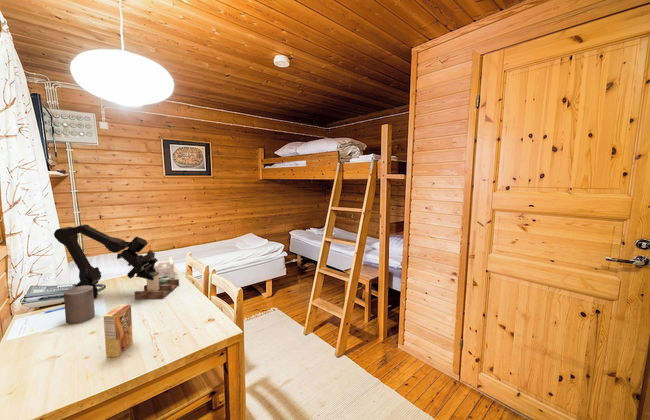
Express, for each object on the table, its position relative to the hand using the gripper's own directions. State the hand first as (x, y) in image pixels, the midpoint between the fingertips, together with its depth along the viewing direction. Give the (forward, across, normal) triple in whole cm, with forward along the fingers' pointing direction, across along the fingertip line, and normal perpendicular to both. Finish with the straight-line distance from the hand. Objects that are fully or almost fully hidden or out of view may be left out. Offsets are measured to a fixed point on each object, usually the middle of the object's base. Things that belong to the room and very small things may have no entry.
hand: (155, 278), depth 144 cm
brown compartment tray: (+6, +4, +8) cm, 11 cm away
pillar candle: (-7, -24, +21) cm, 33 cm away
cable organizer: (0, +28, +14) cm, 32 cm away
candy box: (+16, -48, -2) cm, 51 cm away
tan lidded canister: (+4, 0, +6) cm, 7 cm away
